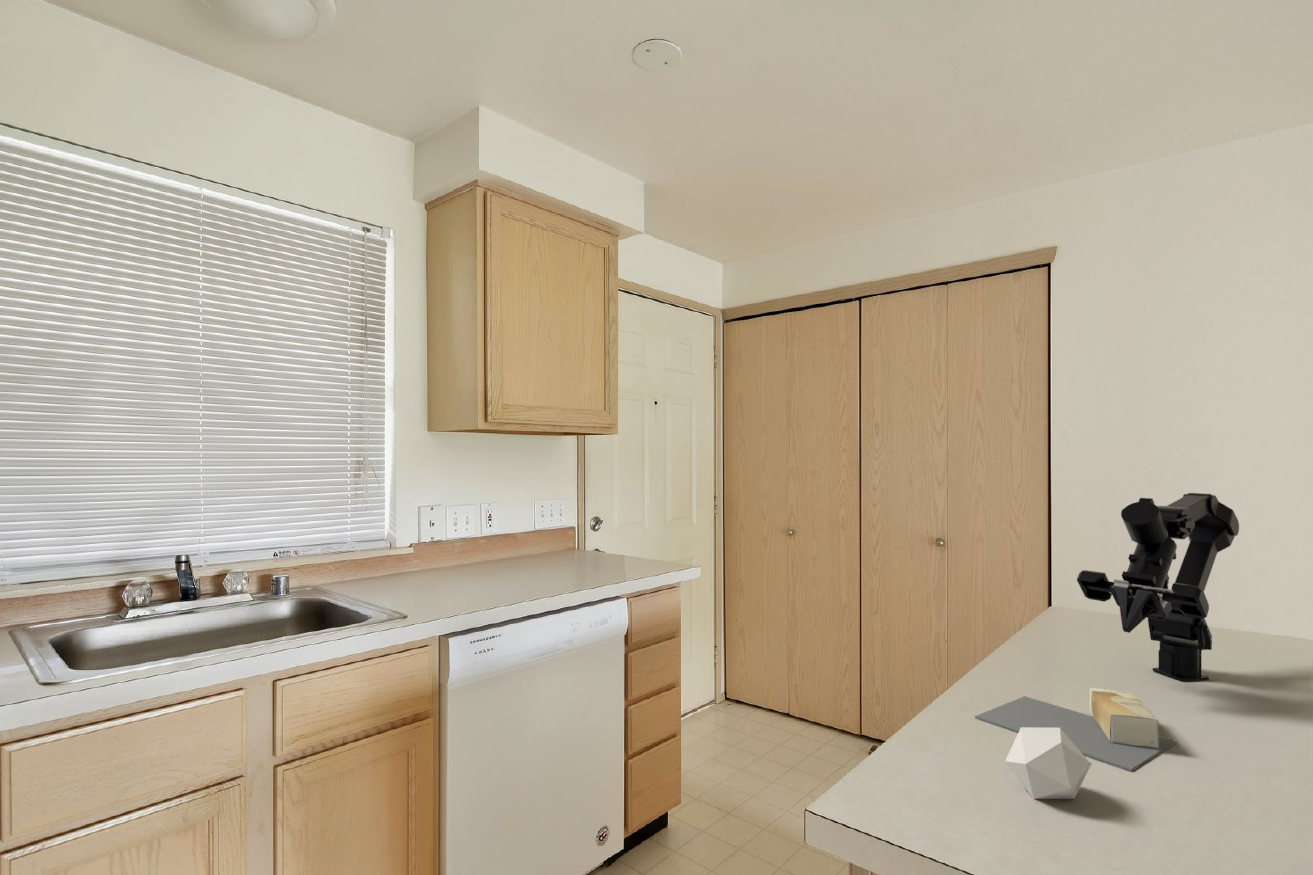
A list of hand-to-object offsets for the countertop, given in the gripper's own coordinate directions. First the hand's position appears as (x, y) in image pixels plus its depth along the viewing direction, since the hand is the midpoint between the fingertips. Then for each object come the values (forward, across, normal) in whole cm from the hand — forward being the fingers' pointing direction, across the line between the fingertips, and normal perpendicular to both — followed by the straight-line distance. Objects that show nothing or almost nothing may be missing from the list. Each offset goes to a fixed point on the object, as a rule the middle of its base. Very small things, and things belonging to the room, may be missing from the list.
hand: (1125, 630), depth 118 cm
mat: (+23, 0, +6) cm, 24 cm away
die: (+40, -7, +22) cm, 46 cm away
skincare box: (+14, -1, 0) cm, 14 cm away
